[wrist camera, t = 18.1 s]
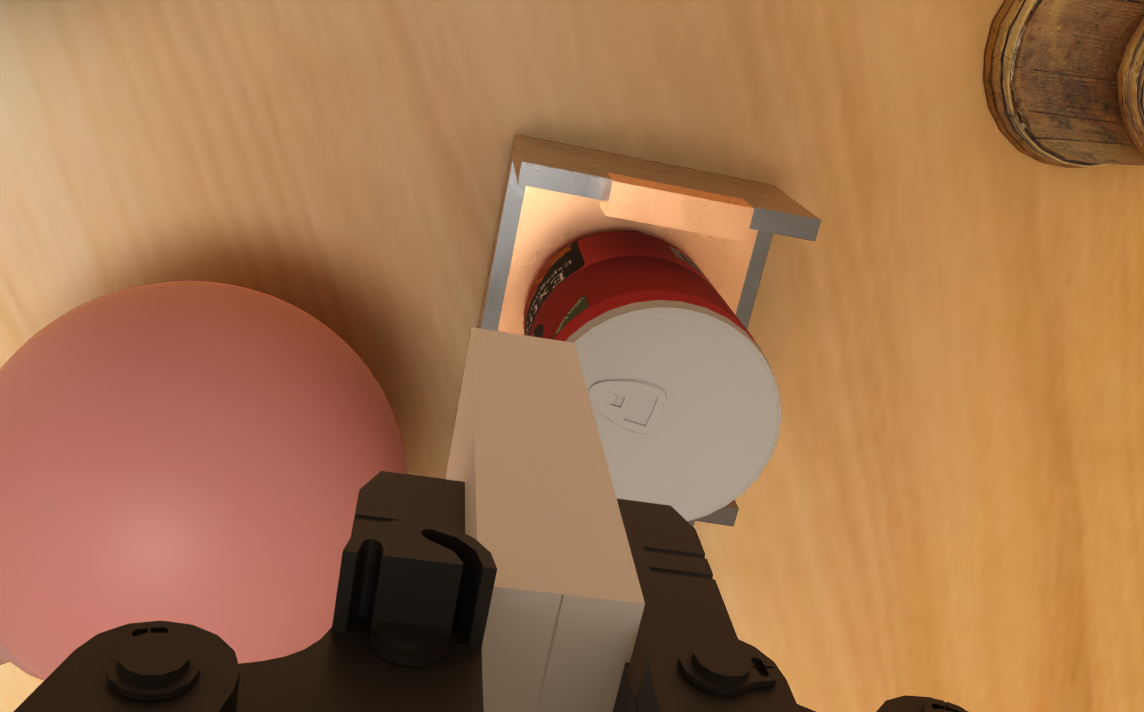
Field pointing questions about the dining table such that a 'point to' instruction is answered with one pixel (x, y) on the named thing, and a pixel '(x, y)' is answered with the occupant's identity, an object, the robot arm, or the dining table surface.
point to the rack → (632, 226)
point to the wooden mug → (1069, 80)
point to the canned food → (660, 370)
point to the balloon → (182, 471)
